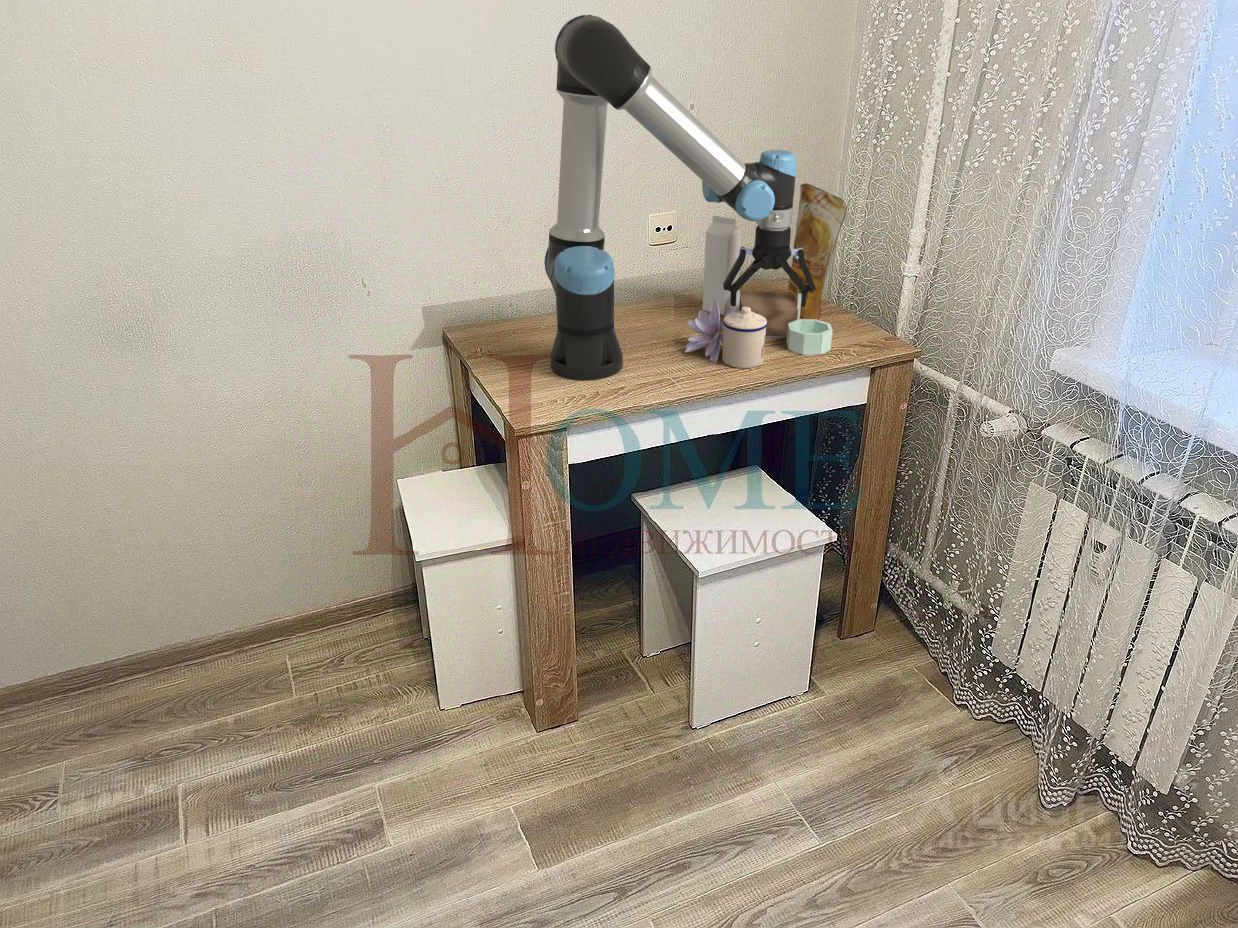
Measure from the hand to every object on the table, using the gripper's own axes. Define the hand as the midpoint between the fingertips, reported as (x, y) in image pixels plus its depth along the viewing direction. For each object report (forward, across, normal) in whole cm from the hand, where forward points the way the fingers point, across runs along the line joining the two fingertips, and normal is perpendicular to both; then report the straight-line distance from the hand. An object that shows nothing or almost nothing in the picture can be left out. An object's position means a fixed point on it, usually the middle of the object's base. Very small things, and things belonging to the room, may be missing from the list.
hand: (766, 319), depth 211 cm
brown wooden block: (+2, 0, 0) cm, 2 cm away
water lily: (+2, -14, -15) cm, 21 cm away
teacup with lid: (+2, -7, -18) cm, 19 cm away
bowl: (+2, +8, -12) cm, 15 cm away
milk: (+2, -10, +11) cm, 15 cm away
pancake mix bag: (+2, +10, +11) cm, 15 cm away
